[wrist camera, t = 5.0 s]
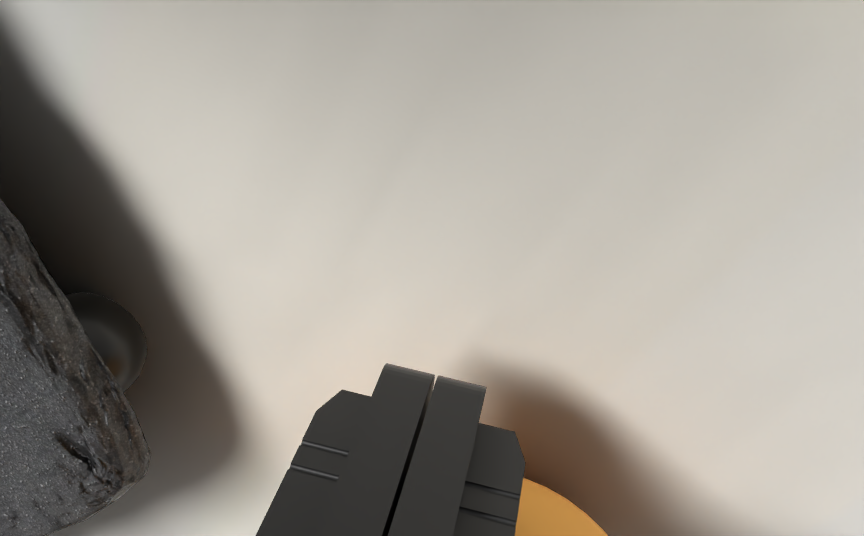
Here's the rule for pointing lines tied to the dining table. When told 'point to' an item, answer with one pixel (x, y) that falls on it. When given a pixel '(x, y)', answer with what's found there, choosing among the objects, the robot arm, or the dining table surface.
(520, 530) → the ball
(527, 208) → the dining table surface
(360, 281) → the dining table surface
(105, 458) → the serving board
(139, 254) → the dining table surface
